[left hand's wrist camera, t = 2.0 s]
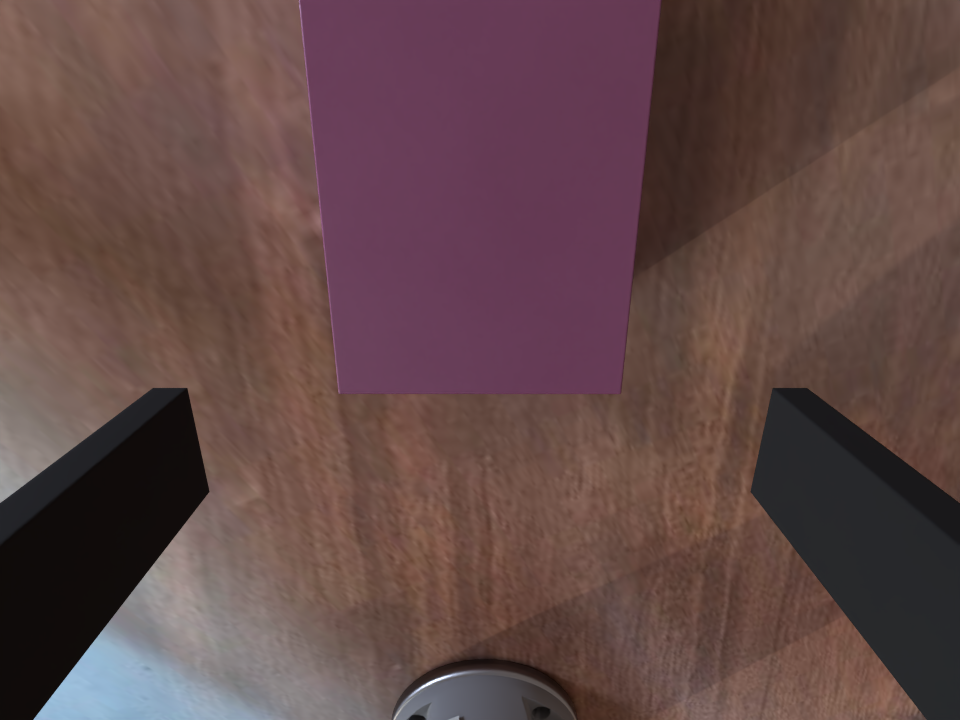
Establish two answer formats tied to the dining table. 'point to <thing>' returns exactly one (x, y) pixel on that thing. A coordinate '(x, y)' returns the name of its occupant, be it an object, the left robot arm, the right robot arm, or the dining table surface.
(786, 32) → the dining table surface
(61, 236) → the dining table surface
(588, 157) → the cabinet
